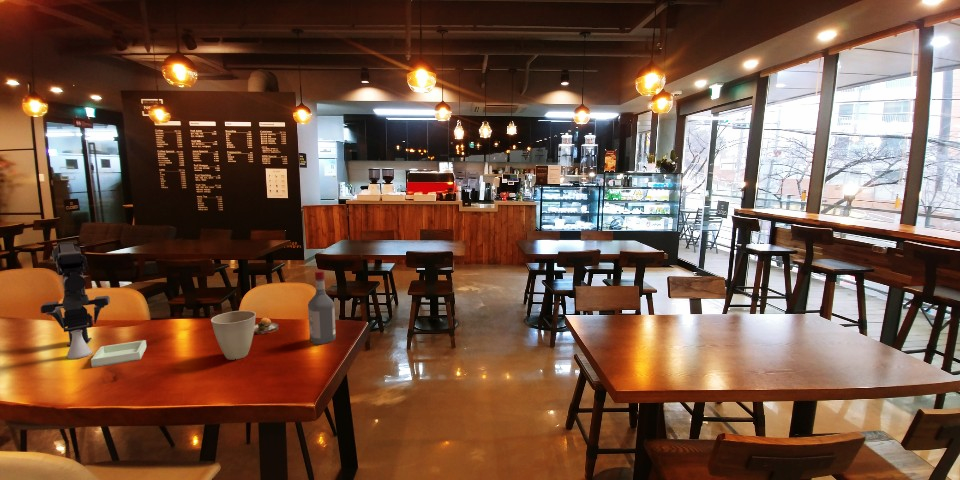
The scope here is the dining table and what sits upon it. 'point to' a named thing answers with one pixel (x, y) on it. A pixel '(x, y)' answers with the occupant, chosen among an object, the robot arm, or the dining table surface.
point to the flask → (78, 346)
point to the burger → (265, 326)
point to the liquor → (321, 314)
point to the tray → (118, 353)
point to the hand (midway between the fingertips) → (79, 325)
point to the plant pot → (234, 332)
